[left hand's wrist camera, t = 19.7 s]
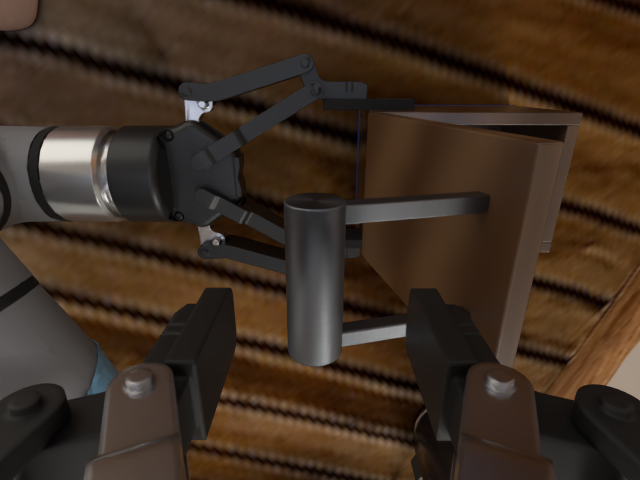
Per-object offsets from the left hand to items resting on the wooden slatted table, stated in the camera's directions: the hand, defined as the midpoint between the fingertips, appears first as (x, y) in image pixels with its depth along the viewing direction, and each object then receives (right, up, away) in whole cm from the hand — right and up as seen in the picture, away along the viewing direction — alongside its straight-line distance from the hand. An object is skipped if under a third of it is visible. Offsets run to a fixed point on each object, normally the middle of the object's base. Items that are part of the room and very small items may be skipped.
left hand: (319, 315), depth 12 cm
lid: (+6, +3, +9) cm, 11 cm away
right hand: (+7, +7, +19) cm, 22 cm away
